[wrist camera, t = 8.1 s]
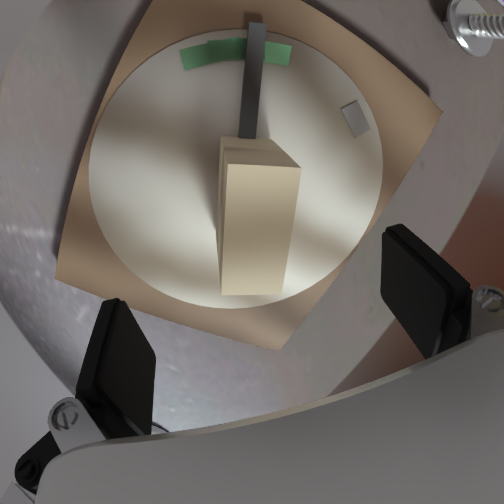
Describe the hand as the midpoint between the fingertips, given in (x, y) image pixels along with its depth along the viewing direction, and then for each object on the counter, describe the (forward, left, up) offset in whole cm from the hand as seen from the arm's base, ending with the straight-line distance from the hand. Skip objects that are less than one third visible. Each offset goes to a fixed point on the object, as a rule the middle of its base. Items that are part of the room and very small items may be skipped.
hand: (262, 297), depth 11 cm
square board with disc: (+1, 0, -11) cm, 11 cm away
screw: (+20, -8, -11) cm, 24 cm away
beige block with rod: (+4, +1, -9) cm, 10 cm away
